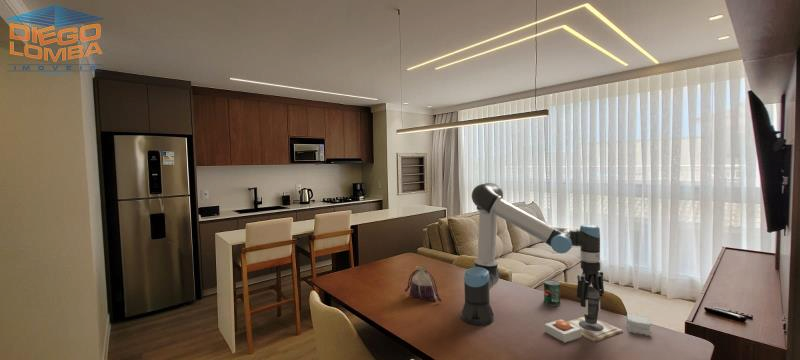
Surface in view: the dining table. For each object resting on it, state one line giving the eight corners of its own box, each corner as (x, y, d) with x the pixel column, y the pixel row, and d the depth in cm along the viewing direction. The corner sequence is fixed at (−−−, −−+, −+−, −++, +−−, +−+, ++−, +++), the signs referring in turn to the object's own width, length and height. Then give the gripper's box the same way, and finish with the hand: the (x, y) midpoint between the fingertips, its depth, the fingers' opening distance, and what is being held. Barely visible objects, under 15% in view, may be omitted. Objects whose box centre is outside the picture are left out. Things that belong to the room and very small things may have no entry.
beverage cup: (591, 326, 142) (590, 280, 141) (577, 319, 149) (577, 275, 148) (604, 324, 144) (604, 278, 143) (590, 317, 151) (590, 273, 150)
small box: (648, 328, 146) (648, 317, 145) (650, 336, 139) (650, 324, 139) (626, 324, 150) (626, 313, 149) (628, 332, 143) (627, 320, 143)
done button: (563, 332, 138) (563, 327, 138) (552, 326, 144) (552, 322, 144) (573, 329, 141) (573, 324, 141) (561, 323, 146) (561, 319, 146)
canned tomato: (540, 301, 177) (540, 281, 177) (550, 298, 181) (550, 278, 180) (553, 307, 170) (553, 285, 170) (563, 303, 174) (563, 283, 173)
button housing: (564, 342, 136) (564, 334, 136) (545, 331, 145) (544, 324, 145) (581, 337, 140) (581, 328, 140) (561, 326, 149) (561, 319, 149)
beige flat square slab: (594, 341, 136) (594, 338, 135) (561, 325, 150) (561, 322, 150) (622, 332, 143) (622, 328, 143) (588, 317, 157) (588, 314, 157)
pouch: (399, 297, 189) (399, 264, 188) (407, 292, 196) (406, 260, 195) (439, 305, 176) (438, 270, 175) (446, 300, 183) (445, 266, 182)
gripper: (582, 265, 138) (582, 320, 139) (613, 259, 146) (614, 310, 147) (566, 261, 145) (567, 313, 146) (597, 255, 153) (597, 304, 154)
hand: (590, 311), depth 146 cm, fingers closed on beverage cup, 7 cm apart
